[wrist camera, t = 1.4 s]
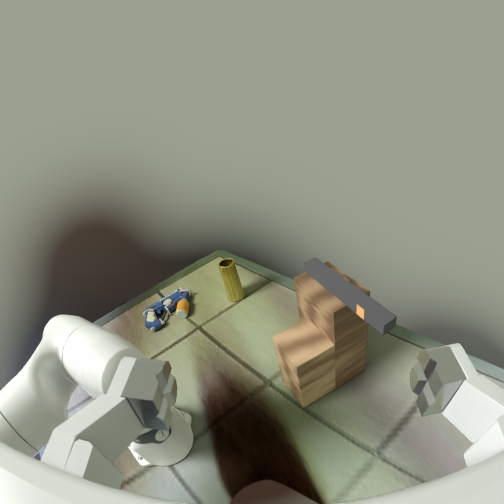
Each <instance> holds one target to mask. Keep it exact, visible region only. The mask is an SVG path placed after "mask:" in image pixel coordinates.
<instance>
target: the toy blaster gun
mask: <svg viewBox="0 0 504 504" xmlns="http://www.w3.org/2000/svg"><path fill="white" fill-rule="evenodd" d="M179 289H180V290H179ZM179 289H178V290H176V291H174V292H173V293H171V294H169V295H167V296H166V297H164V298H162V299H161V300H159V301H158V302H156V303H154V304H152V305H151V306H149V307H148V308H146V309H147V310H146V311H145V312H144V313H143V315H144V316H145V317H146V321H145V326H146V327H147V328H148V329H151V331H153V330H158V329H159V328H161V327H162V325H163V324H164V323H165V322H164V321H163V320H164V318H165V315H166V313H167V312H168V314H169V315H171V313H170V312H172V311H173V310H175V309H176V308H177V309H176V316H177V317H178V318H180V319H184V318H186V317H187V316H188V311H189V302H188V299H189V296H191V292H190V290H185V289H182V288H181V287H179ZM186 291H188V292H189V294H190V295H188V293H187V292H186ZM163 311H164V313H163V317H162V318H161V319H159V320H158V318H157V317H158V316H157V314H161V312H163Z"/></svg>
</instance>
